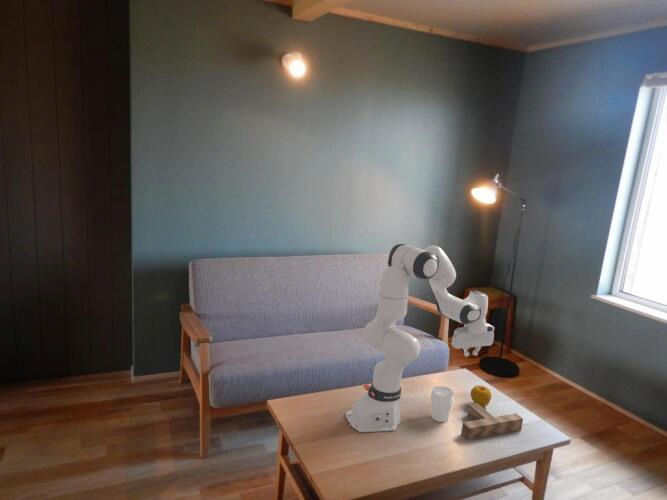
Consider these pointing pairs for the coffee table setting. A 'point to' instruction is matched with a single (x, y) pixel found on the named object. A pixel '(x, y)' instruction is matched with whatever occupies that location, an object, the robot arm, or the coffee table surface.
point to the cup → (441, 403)
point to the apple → (481, 395)
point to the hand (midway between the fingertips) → (470, 355)
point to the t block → (488, 423)
